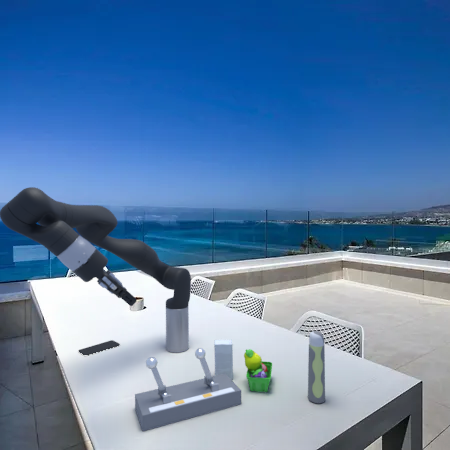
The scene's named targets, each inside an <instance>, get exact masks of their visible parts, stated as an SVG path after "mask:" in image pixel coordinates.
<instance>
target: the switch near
mask: <svg viewBox="0 0 450 450" xmlns="http://www.w3.org/2000/svg"><path fill="white" fill-rule="evenodd" d="M145 366H146V368H147V369H149V370H150V371H151V373H152V375H153V377H154V380H155V383H156V385H157V388H158V387H159V390H160V394H161V396H162V398H163V396H165V395H168V394H167V392H166V389H165V387H164V385H165V384H164V382H163V379H162V377H161V375H160V373H159V370H158V368H157V366H158V359H157V358H155V357H154V356H151V357H148V358H147V360H146V361H145Z"/></svg>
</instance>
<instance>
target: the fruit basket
mask: <svg viewBox="0 0 450 450" xmlns="http://www.w3.org/2000/svg"><path fill="white" fill-rule="evenodd" d="M243 358H244V365H245V367H246V369H247V371H246V374H245V376H246V380H247V382H248V385H249V387H248V388H249V389H250V392H256V393H257V392H259V393H268V390H269V386H270V382H271V380H272V371H273V362H271V361H263V360H262V357H261V356H260V355H259V354H258V353H256V352H255V351H254V350H253V349H251V348H250V349H245V352H244V354H243Z"/></svg>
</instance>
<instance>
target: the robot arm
mask: <svg viewBox="0 0 450 450" xmlns="http://www.w3.org/2000/svg"><path fill="white" fill-rule="evenodd" d="M0 220H1V222H2V223H3V225H5V227H7V228H8V229H9V230H11V231H13V232H16V233H18V234H20V235H22V236H24V237H26V238H28V239H30V240H32V241H34V242H35V243H38V244H40V245H42V246H43V247H44V248H45V249H47V250H48V251H49V252H50V253H51V254H52V255H54V256H55V257H57V259H58V260H59V261H60V262H61V263H62V264H63V265H64V266H65V267H67V269H69V270H70V271H71V272H72V273H74V274H75V275H76V276H77V277H78V278H80V279H81V280H82V281H83V282H85V283H88V282H91V281H92V280H93V279H97V280H96V282H97V284H98V285H99V286H100V287H102V288H104V289H106V290H107V291H108V292H109V293H110V294H112V295H114V296H116V297H117V298H118V299H121V300H123V301H124V302H125V303H127V304H128V305H129V306H130V307H132V306H134V305H135V304H136V302H137V300H138V299H137V298H136V297H135V296H134V295H133V294H131V292H129V291H128V290H127V288H126V286H123V282H122V281H121V280H119V279H118V278H117V277H116V276H115V274H114V273H113V272H112V271H111V270H110V269H108V270H105V269H104V268H105V267H106V266H107V265H108V262H109V259H108V258H107V257H106V256H105V255H104V254H103V253H101V251H100V250H98V249H97V248H96V247H95V246H97V247H98V248H101V249H102V250H105V251H107V252H109V253H111V254H112V255H115V256H116V257H118V258H120V259H121V260H123V261H124V262H125V263H127V264H129V265H130V266H132V267H134V268H136V269H137V270H138V271H141V272H142V273H143V274H146V275H147V276H149V277H151V278H153V279H155V281H157V282H158V283H159V284H160V285H161V286H163V287H164V288H166V289H167V290H172V291H173V297H170V298H166V300H165V348H166V349H165V350H166V351H167V352H170V353H182V352H185V351H187V350H188V349H189V347H190V343H189V342H190V340H189V339H190V338H189V337H190V334H189V332H190V330H189V329H190V328H189V325H190V324H189V321H190V319H189V318H190V317H189V315H190V314H189V304H190V299H191V287H192V283H191V282H192V277H191V273H190V270H188V269H187V268H184V267H178V266H177V267H176V266H171V265H168V264H166V263H165V262H163V261H162V260H160V257H159V255H158V253H157V252H156V250H155V249H154V248H152V247H151V246H149V245H148V244H147V243H146V242H144V241H142V240H139V239H135V238H134V239H133V238H116V237H112V236H110V234H111V232H113V231H114V230H115V229H116V228H117V225H118V219H117V217H116V216H115V214H114V213H113V212H112V211H111V210H110V209H108V208H106V207H105V206H103V205H95V204H94V205H92V204H91V205H87V204H86V205H84V204H83V205H79V204H77V205H76V204H70V203H65V202H61V201H59V200H58V201H57V200H55V199H53V198H52V197H50V196H49V195H48V194H46V193H45V191H43V190H41V189H40V188H38V187H34V186H33V187H32V186H31V187H25V188H23V189H22V190H20V192H18V193H17V194H16V195H15V196H14V197H13V198H12V199H10V200H9V201H8V202H7V203H6V204H4V205H3V206H2V208H1V209H0ZM75 230H76V231H75Z"/></svg>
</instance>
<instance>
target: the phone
mask: <svg viewBox="0 0 450 450" xmlns="http://www.w3.org/2000/svg"><path fill="white" fill-rule="evenodd" d="M119 345H120V343H119V342H117V341H115V340H113V339H112V340H111V339H110V340H107V341H105V342H101V343H98V344H94V345H91V346H87V347H84V348H81V349H79V350H78V351H79V352H80V353H82V354H83V355H88V356H90V355H89V354H92V355H94V354H93V353H95V354H97V353H96V352H98V353H100V351H101V352H103V350H105V351H107V350H106V349H108V350H111V349H113V347H114V348H118V347H120V346H121V345H120V346H119ZM117 346H118V347H117ZM110 348H111V349H110ZM79 352H78V353H79ZM80 353H79V354H80ZM82 354H81V355H82ZM83 355H82V356H83Z"/></svg>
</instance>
